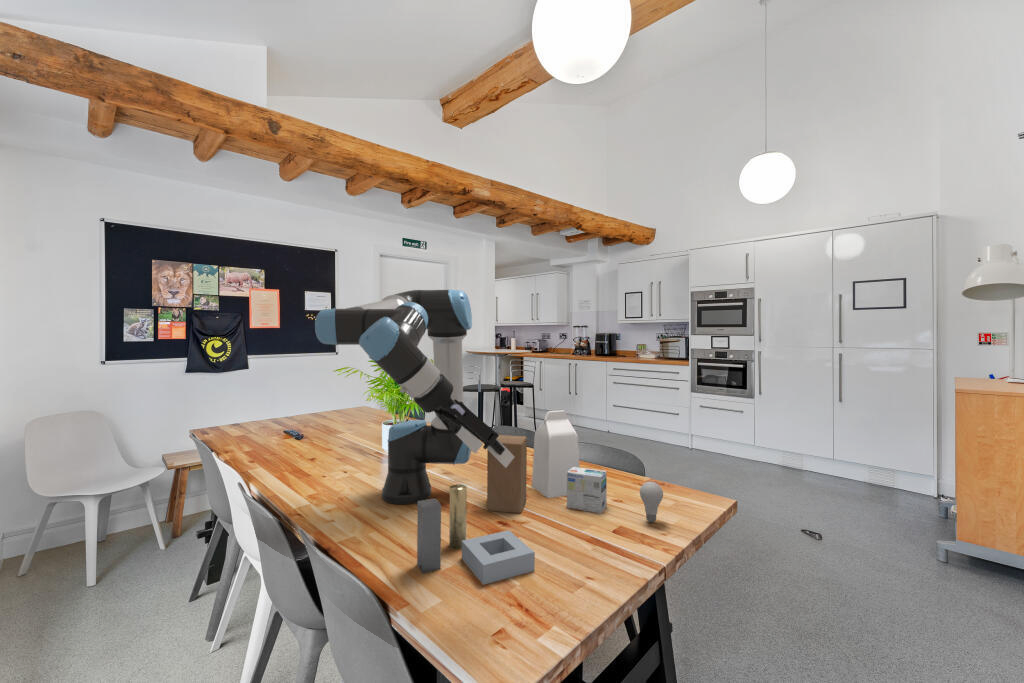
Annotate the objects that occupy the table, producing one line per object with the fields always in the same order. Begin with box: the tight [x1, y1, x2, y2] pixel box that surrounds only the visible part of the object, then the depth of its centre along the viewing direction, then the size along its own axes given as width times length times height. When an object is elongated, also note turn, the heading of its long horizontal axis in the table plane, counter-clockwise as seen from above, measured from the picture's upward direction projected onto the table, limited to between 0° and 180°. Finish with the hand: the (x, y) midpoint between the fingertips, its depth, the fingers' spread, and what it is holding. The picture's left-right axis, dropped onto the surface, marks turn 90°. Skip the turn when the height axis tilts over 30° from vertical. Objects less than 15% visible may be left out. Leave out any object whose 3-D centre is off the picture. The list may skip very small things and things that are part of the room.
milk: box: [531, 410, 580, 499], centre depth 144 cm, size 12×12×26 cm
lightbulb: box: [639, 481, 664, 524], centre depth 119 cm, size 6×6×11 cm
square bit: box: [416, 498, 442, 574], centre depth 95 cm, size 4×4×14 cm
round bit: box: [448, 484, 468, 550], centre depth 105 cm, size 4×4×14 cm
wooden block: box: [486, 434, 528, 514], centre depth 130 cm, size 10×10×20 cm
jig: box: [461, 529, 536, 586], centre depth 96 cm, size 12×12×4 cm
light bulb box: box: [566, 467, 608, 514], centre depth 129 cm, size 11×7×11 cm, turn 65°
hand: (493, 454), depth 93 cm, fingers open, 13 cm apart
